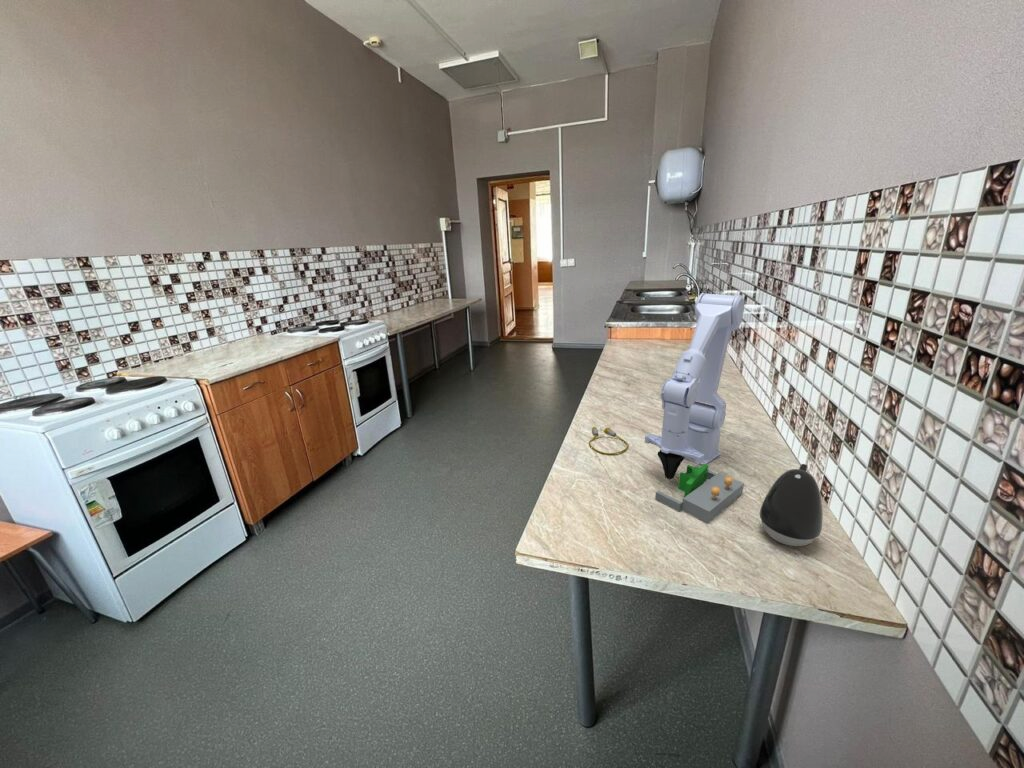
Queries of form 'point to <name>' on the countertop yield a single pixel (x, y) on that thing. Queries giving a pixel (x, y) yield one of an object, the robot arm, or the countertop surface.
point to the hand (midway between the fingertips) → (669, 477)
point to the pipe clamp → (692, 478)
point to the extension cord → (610, 432)
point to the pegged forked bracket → (706, 497)
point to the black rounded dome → (793, 508)
